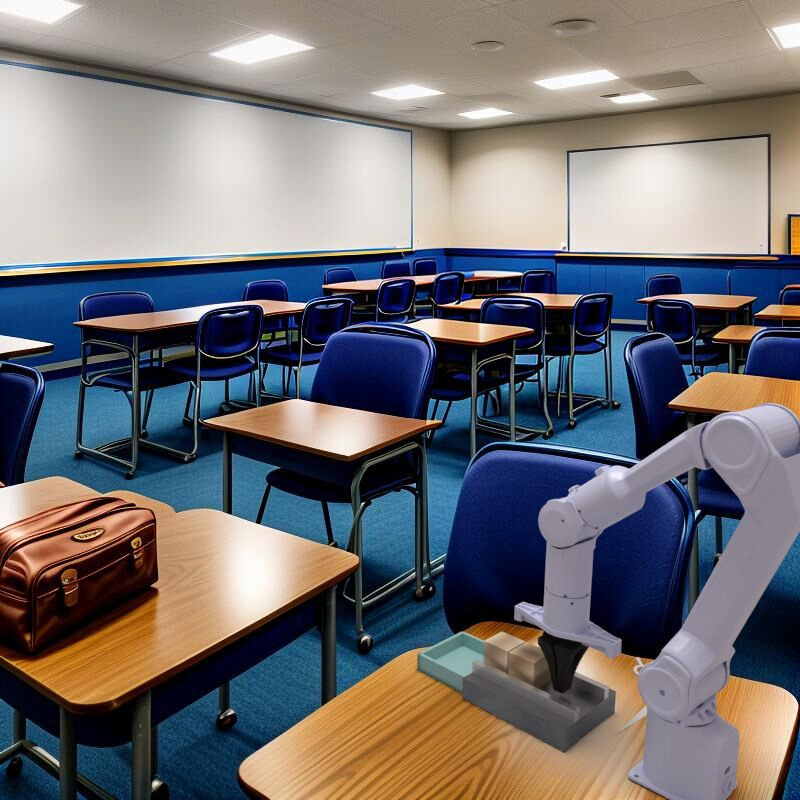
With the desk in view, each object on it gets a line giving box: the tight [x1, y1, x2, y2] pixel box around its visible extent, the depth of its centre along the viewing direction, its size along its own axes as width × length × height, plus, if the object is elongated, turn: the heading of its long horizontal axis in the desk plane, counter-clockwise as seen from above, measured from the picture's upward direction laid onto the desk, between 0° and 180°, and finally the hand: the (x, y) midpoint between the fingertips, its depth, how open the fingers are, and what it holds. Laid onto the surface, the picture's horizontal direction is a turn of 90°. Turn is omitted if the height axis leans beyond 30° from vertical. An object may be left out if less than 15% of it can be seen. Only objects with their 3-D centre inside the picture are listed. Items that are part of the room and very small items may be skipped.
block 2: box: [508, 641, 550, 688], centre depth 99 cm, size 4×4×4 cm
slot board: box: [461, 660, 617, 753], centre depth 98 cm, size 16×12×4 cm
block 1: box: [483, 631, 526, 674], centre depth 102 cm, size 4×4×4 cm
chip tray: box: [416, 631, 485, 694], centre depth 107 cm, size 9×10×2 cm
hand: (561, 688), depth 96 cm, fingers closed
